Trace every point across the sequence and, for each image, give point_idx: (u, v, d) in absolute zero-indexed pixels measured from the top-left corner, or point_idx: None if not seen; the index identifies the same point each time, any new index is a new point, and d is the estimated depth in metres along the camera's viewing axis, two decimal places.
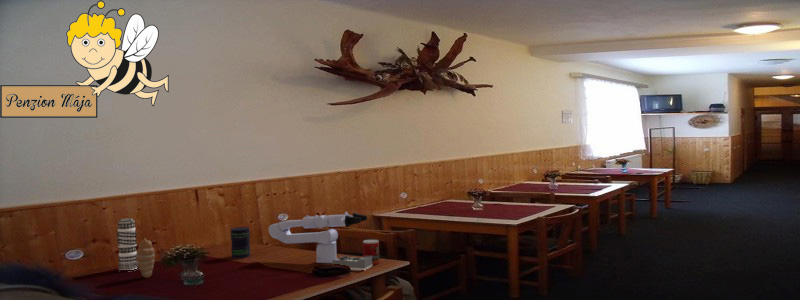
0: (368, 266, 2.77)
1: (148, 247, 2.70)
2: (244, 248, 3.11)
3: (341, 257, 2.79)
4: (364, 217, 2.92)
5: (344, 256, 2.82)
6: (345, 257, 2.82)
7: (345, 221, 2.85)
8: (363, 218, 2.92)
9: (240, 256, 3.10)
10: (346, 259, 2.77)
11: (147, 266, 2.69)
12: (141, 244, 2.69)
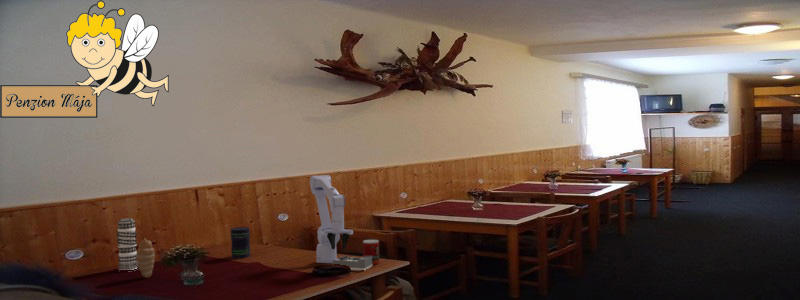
0: (368, 266, 2.77)
1: (148, 247, 2.70)
2: (244, 248, 3.11)
3: (341, 257, 2.79)
4: None
5: (344, 256, 2.82)
6: (345, 257, 2.82)
7: None
8: None
9: (240, 256, 3.10)
10: (346, 259, 2.77)
11: (147, 266, 2.69)
12: (141, 244, 2.69)
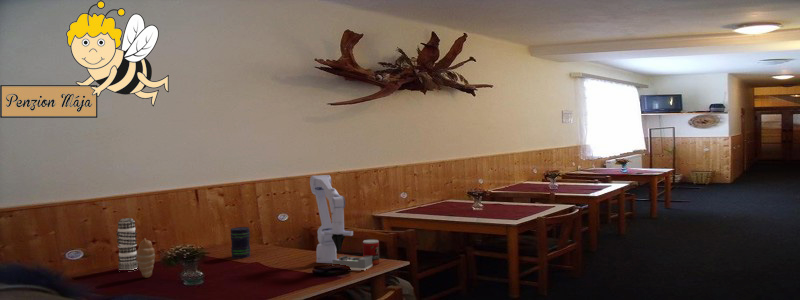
0: (368, 266, 2.77)
1: (148, 247, 2.70)
2: (244, 248, 3.11)
3: (341, 257, 2.79)
4: None
5: (344, 256, 2.82)
6: (345, 257, 2.82)
7: None
8: None
9: (240, 256, 3.10)
10: (346, 259, 2.77)
11: (147, 266, 2.69)
12: (141, 244, 2.69)
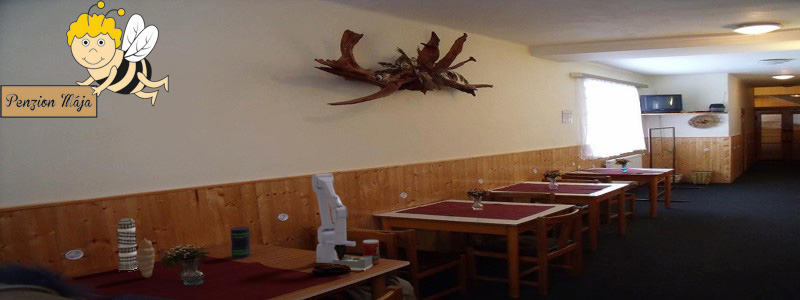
0: (368, 266, 2.77)
1: (148, 247, 2.70)
2: (244, 248, 3.11)
3: (342, 257, 2.79)
4: None
5: (345, 256, 2.82)
6: (346, 257, 2.82)
7: None
8: None
9: (240, 256, 3.10)
10: (347, 259, 2.76)
11: (147, 266, 2.69)
12: (141, 244, 2.69)
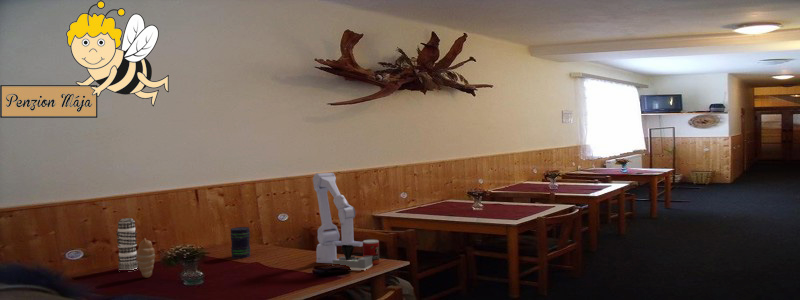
0: (368, 266, 2.77)
1: (148, 247, 2.70)
2: (244, 248, 3.11)
3: (349, 257, 2.78)
4: None
5: (352, 256, 2.80)
6: (353, 257, 2.81)
7: None
8: None
9: (240, 256, 3.10)
10: (354, 259, 2.75)
11: (147, 266, 2.69)
12: (141, 244, 2.69)
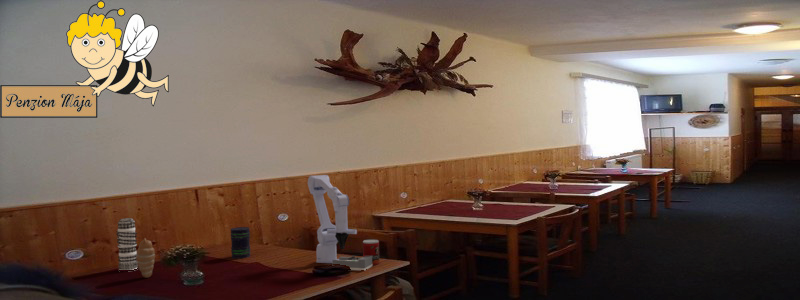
0: (368, 266, 2.77)
1: (148, 247, 2.70)
2: (244, 248, 3.11)
3: (349, 257, 2.78)
4: None
5: (352, 256, 2.80)
6: (353, 257, 2.81)
7: None
8: None
9: (240, 256, 3.10)
10: (354, 259, 2.75)
11: (147, 266, 2.69)
12: (141, 244, 2.69)
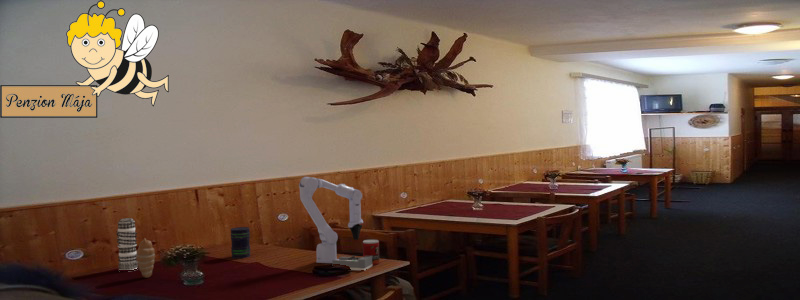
0: (368, 266, 2.77)
1: (148, 247, 2.70)
2: (244, 248, 3.11)
3: (349, 257, 2.78)
4: None
5: (352, 256, 2.80)
6: (353, 257, 2.81)
7: (353, 226, 2.99)
8: None
9: (240, 256, 3.10)
10: (354, 259, 2.75)
11: (147, 266, 2.69)
12: (141, 244, 2.69)
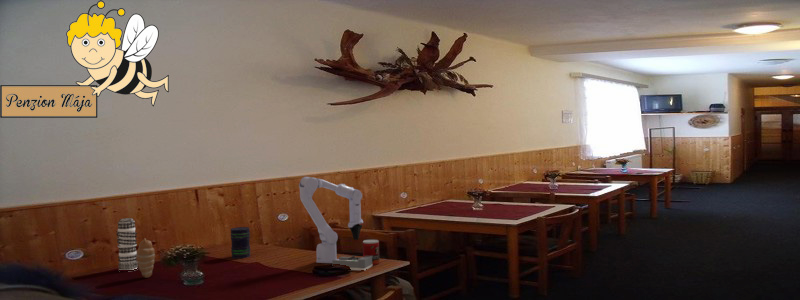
0: (368, 266, 2.77)
1: (148, 247, 2.70)
2: (244, 248, 3.11)
3: (349, 257, 2.78)
4: None
5: (352, 256, 2.80)
6: (353, 257, 2.81)
7: (353, 226, 2.99)
8: None
9: (240, 256, 3.10)
10: (354, 259, 2.75)
11: (147, 266, 2.69)
12: (141, 244, 2.69)
